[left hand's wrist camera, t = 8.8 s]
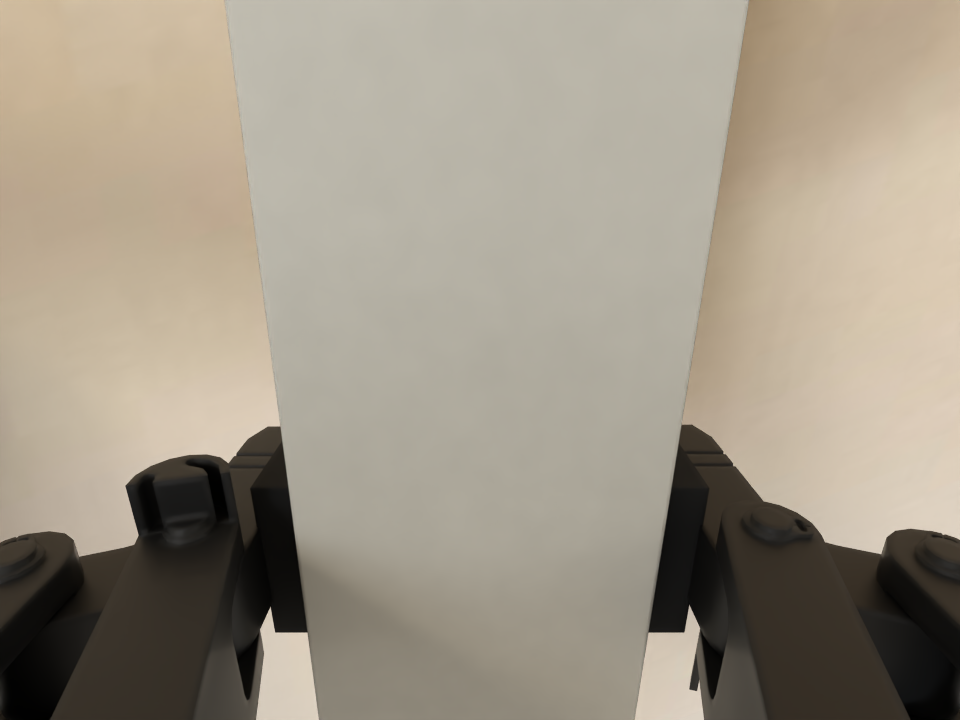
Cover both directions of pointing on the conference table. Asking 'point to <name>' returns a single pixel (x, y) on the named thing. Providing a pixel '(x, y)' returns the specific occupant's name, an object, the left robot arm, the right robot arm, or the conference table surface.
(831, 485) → the conference table surface
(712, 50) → the bar
